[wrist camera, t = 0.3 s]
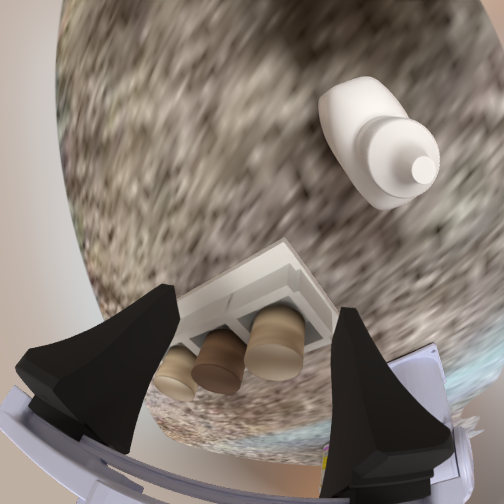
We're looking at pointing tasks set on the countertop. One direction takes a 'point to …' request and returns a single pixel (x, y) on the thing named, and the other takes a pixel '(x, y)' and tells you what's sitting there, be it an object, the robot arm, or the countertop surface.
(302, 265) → the white compartment tray
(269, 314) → the maple plug
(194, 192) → the countertop surface
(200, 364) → the walnut plug
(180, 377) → the maple plug
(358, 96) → the eye dropper bottle
